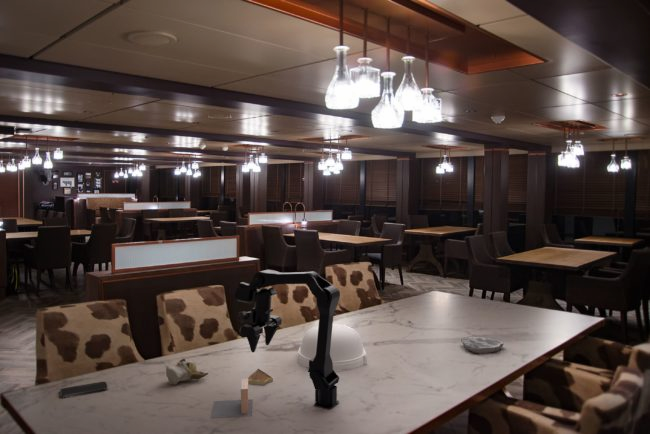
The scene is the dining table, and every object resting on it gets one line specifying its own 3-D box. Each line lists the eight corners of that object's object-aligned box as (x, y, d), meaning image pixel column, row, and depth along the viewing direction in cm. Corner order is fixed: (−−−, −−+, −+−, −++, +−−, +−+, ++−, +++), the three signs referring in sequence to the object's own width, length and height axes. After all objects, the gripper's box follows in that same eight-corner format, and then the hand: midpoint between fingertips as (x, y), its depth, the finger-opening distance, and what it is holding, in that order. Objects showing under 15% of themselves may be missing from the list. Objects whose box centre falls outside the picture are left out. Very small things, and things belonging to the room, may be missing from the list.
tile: (248, 401, 169) (248, 378, 169) (247, 413, 160) (247, 388, 160) (241, 402, 169) (241, 378, 169) (241, 413, 160) (240, 389, 160)
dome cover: (281, 364, 208) (281, 330, 208) (314, 344, 235) (314, 315, 235) (353, 376, 195) (353, 340, 194) (378, 354, 222) (379, 322, 221)
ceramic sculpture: (159, 358, 187) (195, 352, 198) (158, 381, 187) (194, 374, 198) (173, 365, 180) (210, 358, 191) (172, 389, 180) (208, 381, 191)
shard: (258, 372, 199) (258, 367, 199) (280, 375, 196) (280, 369, 196) (244, 385, 186) (244, 379, 186) (268, 387, 184) (268, 381, 184)
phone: (107, 388, 179) (60, 396, 172) (107, 391, 179) (60, 399, 172) (105, 381, 186) (60, 388, 179) (105, 384, 186) (60, 391, 179)
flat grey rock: (479, 340, 243) (479, 334, 243) (509, 349, 229) (509, 343, 228) (451, 347, 232) (451, 341, 232) (480, 357, 218) (480, 350, 218)
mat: (252, 400, 171) (252, 399, 171) (252, 416, 158) (252, 415, 158) (214, 402, 170) (214, 401, 170) (210, 419, 157) (210, 418, 157)
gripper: (258, 297, 189) (255, 337, 191) (228, 307, 173) (225, 351, 174) (283, 301, 185) (280, 343, 186) (255, 312, 168) (252, 358, 169)
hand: (260, 348), depth 179 cm, fingers open, 9 cm apart
